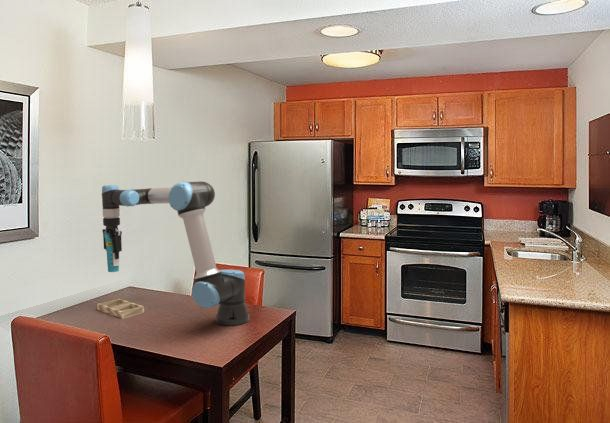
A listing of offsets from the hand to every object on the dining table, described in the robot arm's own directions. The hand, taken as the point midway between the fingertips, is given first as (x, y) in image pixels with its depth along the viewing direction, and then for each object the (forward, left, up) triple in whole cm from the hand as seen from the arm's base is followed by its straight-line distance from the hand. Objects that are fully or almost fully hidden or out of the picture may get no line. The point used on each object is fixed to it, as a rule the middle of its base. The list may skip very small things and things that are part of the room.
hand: (113, 264), depth 228 cm
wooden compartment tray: (-5, 0, -22) cm, 23 cm away
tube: (0, 0, -3) cm, 3 cm away
